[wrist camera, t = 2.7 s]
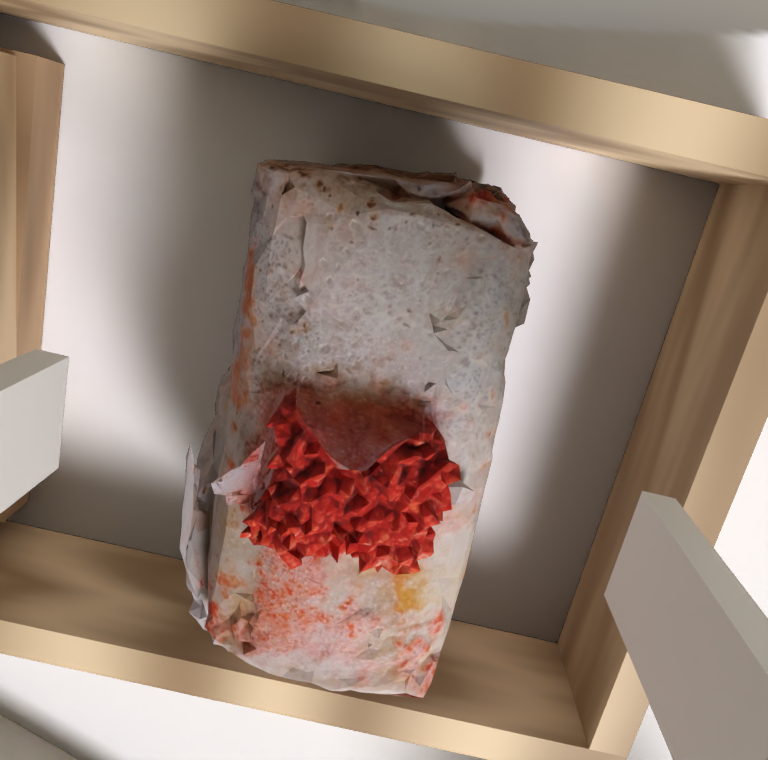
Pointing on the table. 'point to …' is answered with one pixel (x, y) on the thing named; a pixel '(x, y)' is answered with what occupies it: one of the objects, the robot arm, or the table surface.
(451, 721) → the tray
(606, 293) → the table surface
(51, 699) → the table surface
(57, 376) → the robot arm
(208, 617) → the food item
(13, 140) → the offcut stack
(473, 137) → the table surface
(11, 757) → the book
